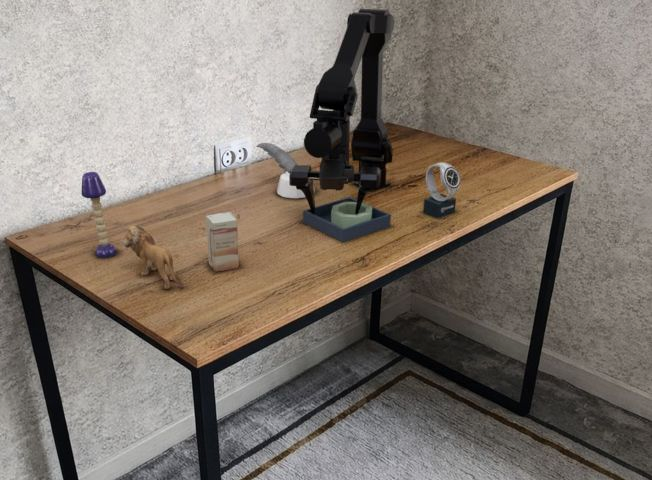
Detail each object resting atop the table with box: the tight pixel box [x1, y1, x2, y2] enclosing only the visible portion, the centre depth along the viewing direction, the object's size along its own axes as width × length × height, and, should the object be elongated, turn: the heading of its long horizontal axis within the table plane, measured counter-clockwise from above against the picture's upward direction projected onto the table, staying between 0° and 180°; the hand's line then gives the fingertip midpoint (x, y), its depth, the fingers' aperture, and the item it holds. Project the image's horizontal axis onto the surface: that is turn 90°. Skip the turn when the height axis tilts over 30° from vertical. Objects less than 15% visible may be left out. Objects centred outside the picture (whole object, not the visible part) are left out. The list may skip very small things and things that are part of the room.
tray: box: [302, 196, 392, 243], centre depth 165 cm, size 14×13×3 cm
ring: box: [331, 202, 373, 229], centre depth 165 cm, size 8×8×3 cm
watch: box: [422, 161, 462, 219], centre depth 168 cm, size 6×8×11 cm
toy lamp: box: [81, 171, 118, 259], centre depth 151 cm, size 5×5×17 cm
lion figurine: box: [120, 225, 185, 290], centre depth 143 cm, size 15×5×9 cm, turn 50°
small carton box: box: [205, 211, 240, 272], centre depth 147 cm, size 5×4×10 cm
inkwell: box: [256, 142, 316, 200], centre depth 183 cm, size 9×18×10 cm, turn 48°
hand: (335, 215), depth 165 cm, fingers open, 9 cm apart
